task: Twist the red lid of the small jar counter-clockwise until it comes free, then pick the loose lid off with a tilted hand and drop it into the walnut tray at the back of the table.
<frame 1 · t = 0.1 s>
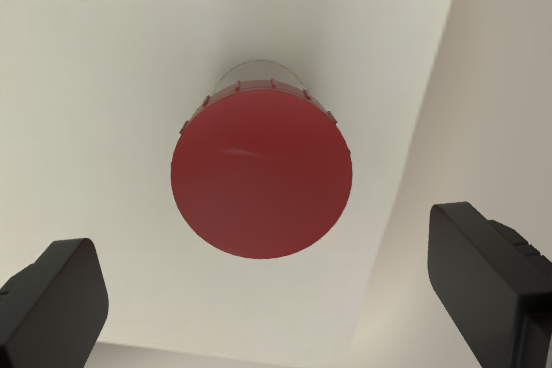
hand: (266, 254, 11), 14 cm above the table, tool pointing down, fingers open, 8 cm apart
jar: (260, 109, 23), on the table
lid: (262, 176, 14), point 10 cm above the table, screwed on, not yet turned
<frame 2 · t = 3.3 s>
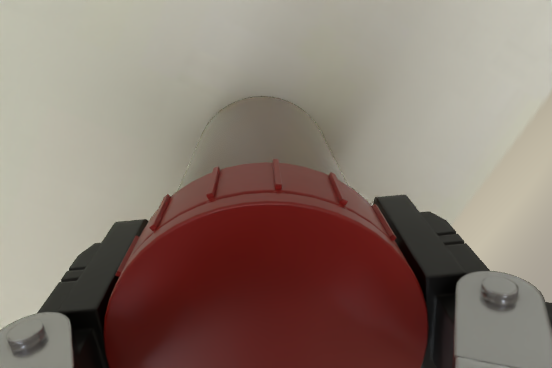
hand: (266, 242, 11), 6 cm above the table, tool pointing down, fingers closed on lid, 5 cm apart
jar: (262, 161, 17), on the table
lid: (267, 334, 8), point 10 cm above the table, screwed on, not yet turned, touching gripper
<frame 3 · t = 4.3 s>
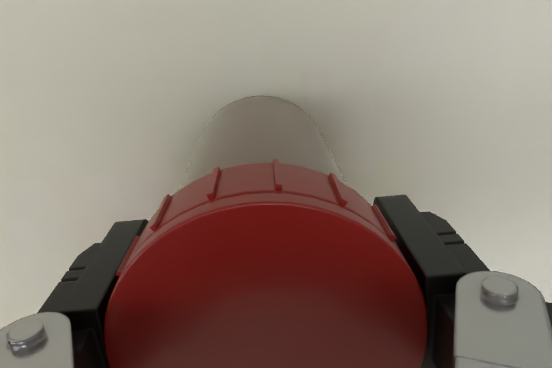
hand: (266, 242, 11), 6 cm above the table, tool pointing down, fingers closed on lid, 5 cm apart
jar: (261, 160, 17), on the table
lid: (267, 333, 8), point 10 cm above the table, turned 53° so far, risen 0.1 cm, still on its thread, touching gripper
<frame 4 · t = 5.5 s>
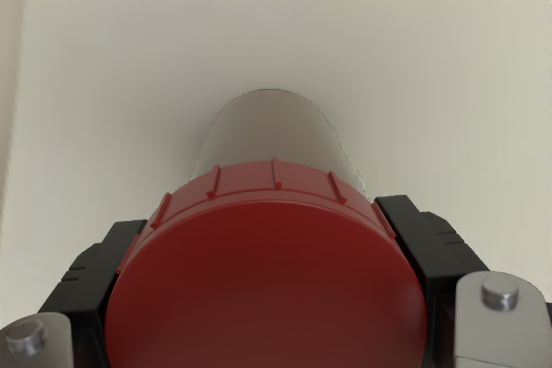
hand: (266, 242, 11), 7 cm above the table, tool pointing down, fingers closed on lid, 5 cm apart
jar: (270, 153, 17), on the table, touching gripper, lid
lid: (267, 331, 8), point 10 cm above the table, off its thread, touching gripper, jar
when the fingers open (7 cm above the table, at t = 6.1 s): lid stays where it is, resting on jar.
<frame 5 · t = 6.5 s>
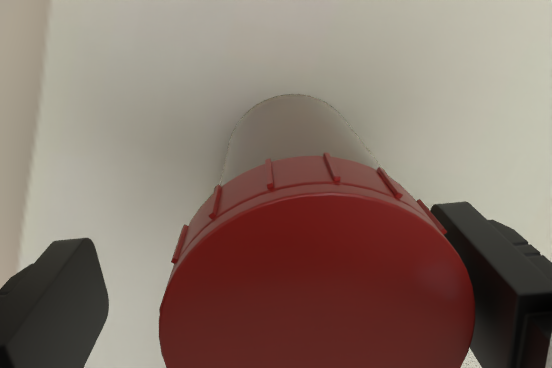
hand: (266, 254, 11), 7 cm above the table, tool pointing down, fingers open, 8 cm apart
jar: (291, 158, 17), on the table, touching lid
lid: (315, 323, 8), point 10 cm above the table, off its thread, touching jar
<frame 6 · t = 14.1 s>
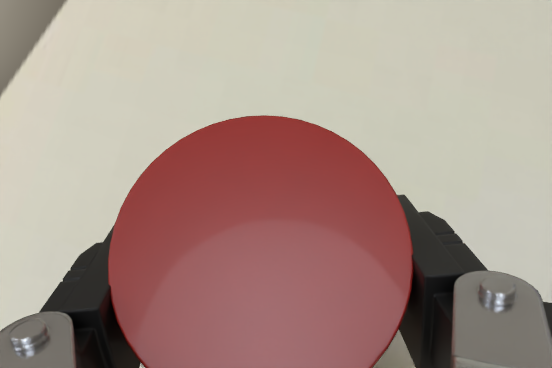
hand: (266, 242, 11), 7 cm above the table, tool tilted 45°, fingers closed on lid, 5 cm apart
lid: (260, 251, 9), point 10 cm above the table, off its thread, touching gripper, jar
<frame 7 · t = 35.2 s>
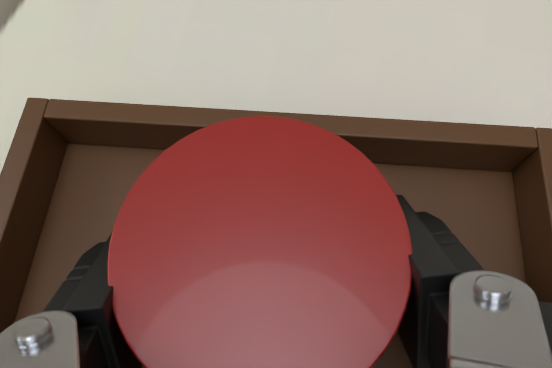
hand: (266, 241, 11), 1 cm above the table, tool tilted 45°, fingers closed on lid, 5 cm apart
lid: (260, 251, 9), point 4 cm above the table, off its thread, touching gripper
tray: (269, 317, 12), on the table
when the fingers open (4 cm above the table, at t = 47.0 s): lid drops 5 cm, resting on tray.
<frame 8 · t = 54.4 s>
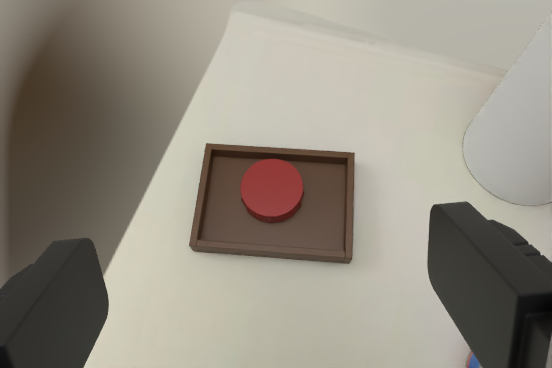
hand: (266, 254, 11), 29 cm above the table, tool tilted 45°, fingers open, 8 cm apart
tall pillar cylinder: (518, 154, 43), on the table
lid: (271, 188, 40), point 2 cm above the table, off its thread, touching tray
tray: (275, 205, 42), on the table
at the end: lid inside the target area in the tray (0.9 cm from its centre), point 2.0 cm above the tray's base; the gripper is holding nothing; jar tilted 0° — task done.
